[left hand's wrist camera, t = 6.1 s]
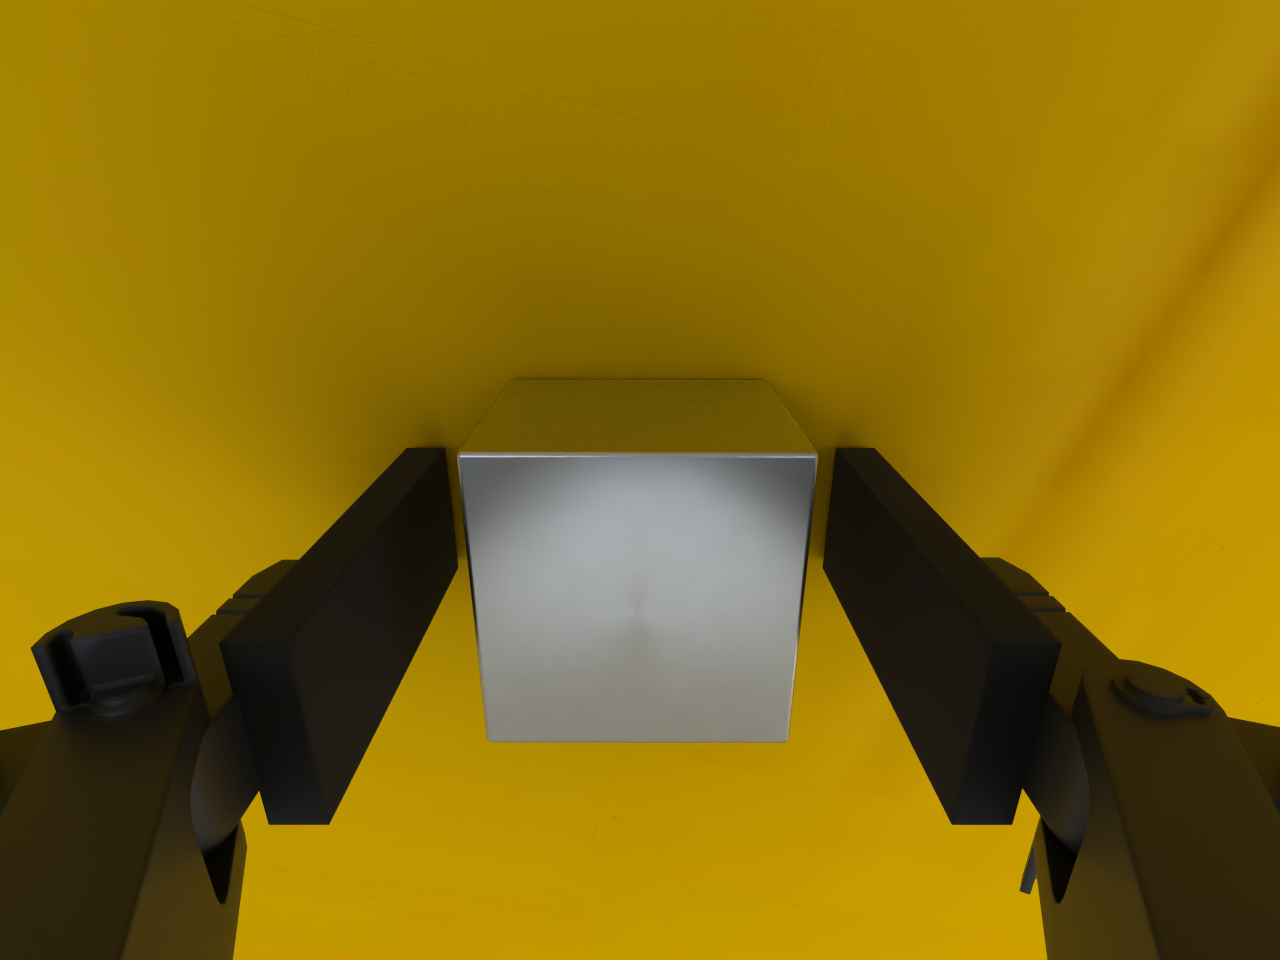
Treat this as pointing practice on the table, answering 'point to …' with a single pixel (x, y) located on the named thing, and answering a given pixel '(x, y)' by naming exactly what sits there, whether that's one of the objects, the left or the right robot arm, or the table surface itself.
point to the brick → (637, 559)
